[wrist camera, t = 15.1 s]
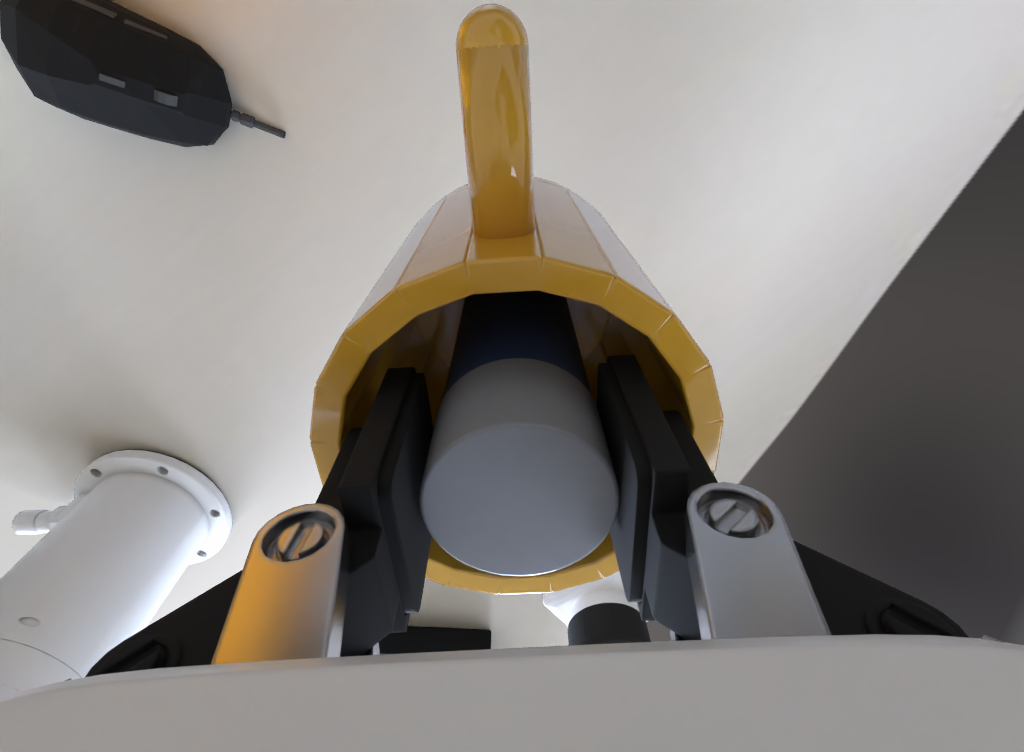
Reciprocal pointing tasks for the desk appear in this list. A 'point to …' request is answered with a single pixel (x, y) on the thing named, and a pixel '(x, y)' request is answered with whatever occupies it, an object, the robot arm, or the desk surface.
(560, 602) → the medicine bottle
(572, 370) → the glue stick
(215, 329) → the desk surface
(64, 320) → the desk surface
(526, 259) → the mug
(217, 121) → the gaming mouse
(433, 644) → the external hard drive
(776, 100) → the desk surface
